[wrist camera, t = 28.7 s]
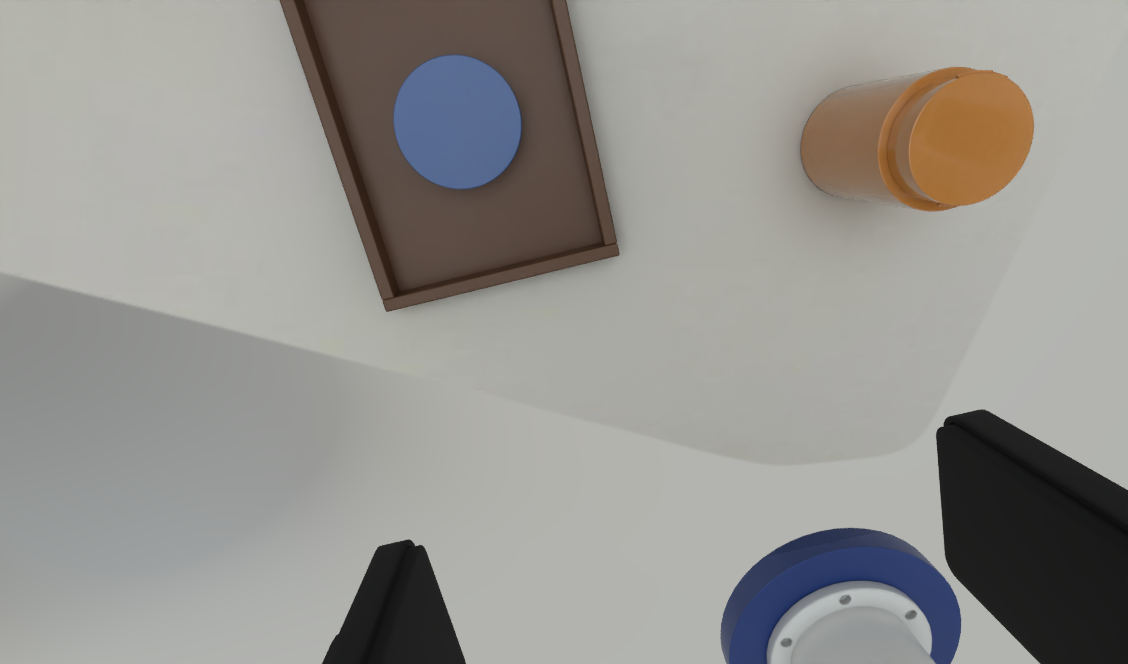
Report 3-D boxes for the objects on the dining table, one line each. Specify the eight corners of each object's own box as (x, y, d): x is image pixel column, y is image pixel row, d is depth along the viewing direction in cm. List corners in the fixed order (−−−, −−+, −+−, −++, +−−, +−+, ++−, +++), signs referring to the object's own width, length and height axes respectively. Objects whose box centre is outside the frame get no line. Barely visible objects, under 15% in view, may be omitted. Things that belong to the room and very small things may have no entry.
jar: (909, 183, 34) (1043, 196, 25) (806, 208, 35) (903, 230, 25) (902, 73, 33) (1045, 44, 23) (794, 100, 33) (894, 82, 24)
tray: (615, 249, 35) (620, 255, 33) (394, 303, 35) (385, 312, 33) (543, -90, 30) (543, -106, 28) (284, -22, 30) (267, -34, 28)
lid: (399, 54, 31) (390, 48, 29) (524, 61, 31) (523, 56, 29) (403, 184, 33) (395, 186, 31) (520, 189, 33) (519, 192, 31)
